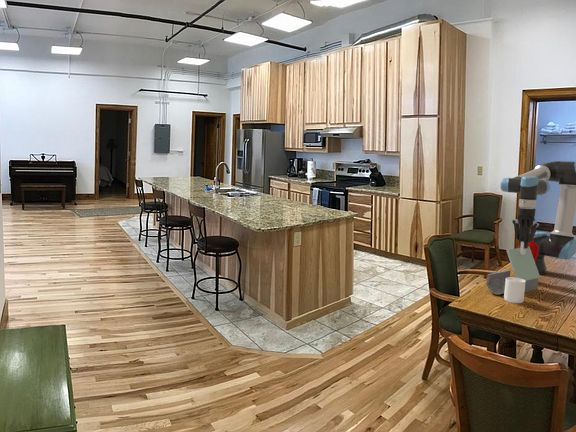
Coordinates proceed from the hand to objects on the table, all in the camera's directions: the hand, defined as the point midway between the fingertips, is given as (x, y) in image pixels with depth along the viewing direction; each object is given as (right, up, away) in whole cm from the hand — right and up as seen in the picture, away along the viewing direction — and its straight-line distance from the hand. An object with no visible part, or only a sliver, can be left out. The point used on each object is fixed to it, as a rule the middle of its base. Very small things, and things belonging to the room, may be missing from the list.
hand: (522, 254), depth 224 cm
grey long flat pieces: (-3, -18, +6) cm, 19 cm away
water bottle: (+10, -16, +18) cm, 27 cm away
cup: (-11, -20, -13) cm, 26 cm away
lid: (0, -5, 0) cm, 5 cm away
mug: (-12, -16, +1) cm, 20 cm away
